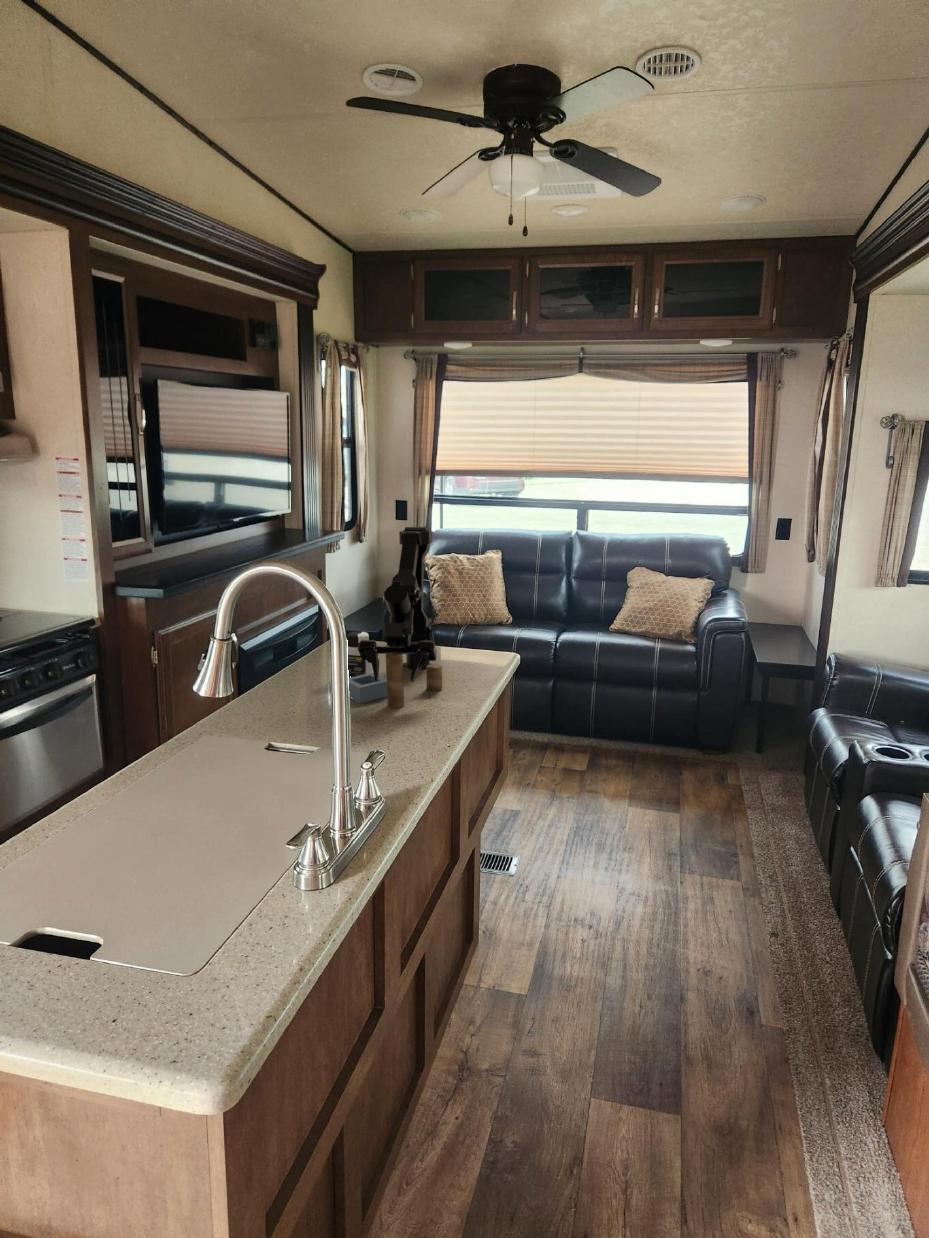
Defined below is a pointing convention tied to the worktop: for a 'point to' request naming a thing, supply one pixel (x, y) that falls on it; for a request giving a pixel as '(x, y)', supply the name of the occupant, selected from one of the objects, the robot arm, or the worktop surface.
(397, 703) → the tall pin
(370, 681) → the socket block
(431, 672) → the short pin
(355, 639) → the medicine bottle
